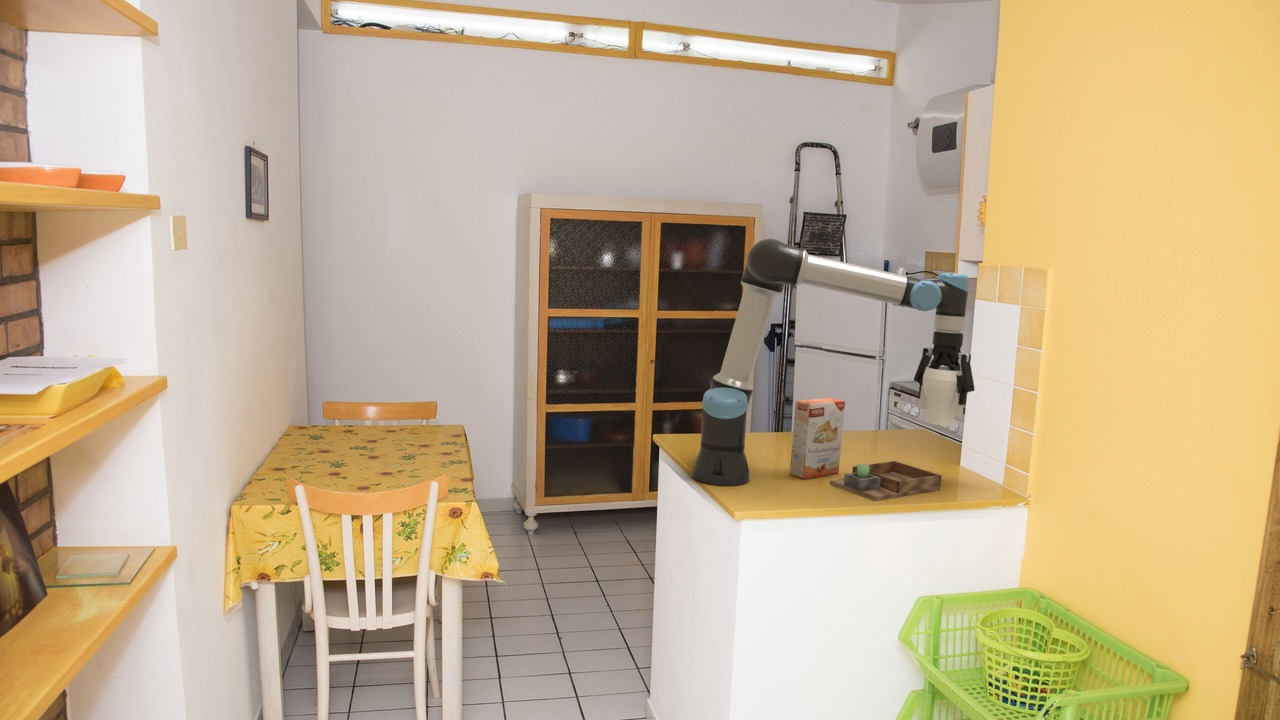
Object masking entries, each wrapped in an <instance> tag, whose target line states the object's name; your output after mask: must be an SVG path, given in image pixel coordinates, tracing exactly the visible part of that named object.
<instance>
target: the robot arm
mask: <svg viewBox="0 0 1280 720" xmlns="http://www.w3.org/2000/svg"><path fill="white" fill-rule="evenodd" d="M740 283H741V286H742V287H743V293H742V297H741V301H740V304H739V307H738V311H737V313H736V316H735V321H734V324H733V327H732V329H731V330H732V331H731V334H730V338H729V341H728V345H727V348H726V351H725V354H724V357H723V362H722V366H721V369H720V372H719V373H717V374H715V375H713V376H712V380H711V382H710V383H711V384H710V385H709V389H708V390H706V391H705V392H704V393H703V398H702V401H701V406H702V410H701V411H702V413H701V433H700V448H699V451H698V454H697V456H696V459H695V461H694V465H693V466H692V478H693V479H695V481H698V482H701V483H704V484H708V483H709V485H713V486H714V485H715V486H740V485H743V484H744V485H745V484H747V483H748V482H749V481H750V473H751V472H750V468H749V465H748V460H747V456H746V453H745V449H746V448H745V447H746V446H745V445H746V444H745V443H746V432H747V431H746V428H747V415H748V413H747V412H748V409H749V404H750V401H751V398H752V395H753V391H754V387H753V384H752V383H751V379H752V375H753V372H754V368H755V365H756V361H757V358H758V355H759V352H760V348H761V344H762V342H763V339H764V336H765V331H766V329H767V325H768V321H769V318H770V315H771V310H772V308H773V306H774V305H773V304H774V301H775V299H776V298H777V297H778V296H781V295H782V294H783V292H784V291H783V290H784V288H785V285H787V286H794V287H797V286H800V285H808V286H811V287H815V288H821V289H826V290H830V291H833V292H834V291H835V292H838V293H842V294H846V295H847V294H848V295H852V296H856V297H861V298H866V299H870V300H873V301H879V302H885V303H888V304H891V305H893V306H896V307H901V308H903V307H905V308H910V309H914V310H917V311H919V312H928V311H929V312H930V311H932V310H934V309H935V317H934V323H933V328H934V330H935V331H933V333H932V334H933V335H932V336H933V337H932V344H933V348H932V347H923V349H922V356H921V359H920V360H919V361H920V362H919V364H918V367H917V369H916V372H915V375H914V378H913V381H914V382H916V383H918V384H919V388H918V389H919V390H918V396H919V397H920V398H919V409H920V410H925V409H928V403H927V397H926V395H925V392H924V388H923V375H924V373H925V370H926V367H927V366H929V368H932V369H938V368H939V367H940V366H945V367H948V368H949V369H950V370H951V371H961V370H962V375H961V376H958V375H957V374H956V376H957V385H956V386H957V388H958V392H956V395H955V404H954V414H953V417H954V418H961V417H963V414H964V413H963V412H964V406H966V405H967V397H968V393H972V392H974V391H975V389H976V388H975V384H974V377H973V372H972V365H971V360H972V354H970V353H962V351H961V348H962V347H963V343H964V342H963V341H964V333H962V332H963V331H964V330H965V324H966V323H965V321H966V310H967V304H968V295H969V277H968V275H966V274H965V273H964V274H963V273H952V272H951V273H950V272H949V273H946V272H942V273H940V274H939V277H938V278H937V279H923V278H916V277H913V276H907V275H903V274H899V273H893V272H889V271H885V270H881V269H876V268H872V267H867V266H863V265H858V264H853V263H848V262H845V261H839V260H836V259H830V258H825V257H820V256H817V255H812V254H809V253H808V252H807V250H806V249H803V248H800V247H796V246H793V245H790V244H787V243H784V242H783V241H781V240H778V239H775V238H764V239H761V240H759V241H758V242H755V244H754V245H753V246H752V247H750V249H749V251H748V254H747V258H746V262H745V266H744V270H743V272H742V277H741V280H740ZM932 357H933V358H932Z"/></svg>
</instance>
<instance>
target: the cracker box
mask: <svg viewBox="0 0 1280 720" xmlns="http://www.w3.org/2000/svg"><path fill="white" fill-rule="evenodd" d="M845 405H846V401H845V400H842V399H838V398H833V397H825V398H814V399H813V398H812V399H811V398H810V399H809V398H808V399H799V400H795V403H794V418H793V429H792V430H793V431H792V444H791V454H790V455H791V456H790V467H789V468H790V469H789V475H790V476H794V477H797V478H799V479H802V480H807V479H812V478H813V479H814V478H818V477H819V478H820V477H824V476H831V475H837V474H839V471H840V470H839V469H840V462H841V461H840V460H841V449H842V441H843V439H842V437H843V428H844V416H845Z"/></svg>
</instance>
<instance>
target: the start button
mask: <svg viewBox="0 0 1280 720" xmlns="http://www.w3.org/2000/svg"><path fill="white" fill-rule="evenodd" d="M856 466H857V476H858V477H860V478H868V477H869V465H868V464H866V463H865V464H864V463H858V464H857V465H856Z"/></svg>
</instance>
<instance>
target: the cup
mask: <svg viewBox="0 0 1280 720" xmlns="http://www.w3.org/2000/svg"><path fill="white" fill-rule="evenodd" d="M929 366H930V365H929ZM929 366H927V367H926V370H925V373H924V375H923V388H924V392H925V395H926V397H927V403H928V409H927V411H926V413H925V417H924V422H925V423H927V424H930V425H934V426H941V427H944V426H945V427H952V426H955V423H956V422H955V417H953V414H954V404H955V395H956V392H958V388H957V386H956V385H957V376H956V374H957V375H958V376H961V375H962V370H961V371H951V370H950V369H949V368H948V367H946V366H944V365H941V366H940V367H939V368H938V369H932V368H929Z"/></svg>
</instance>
